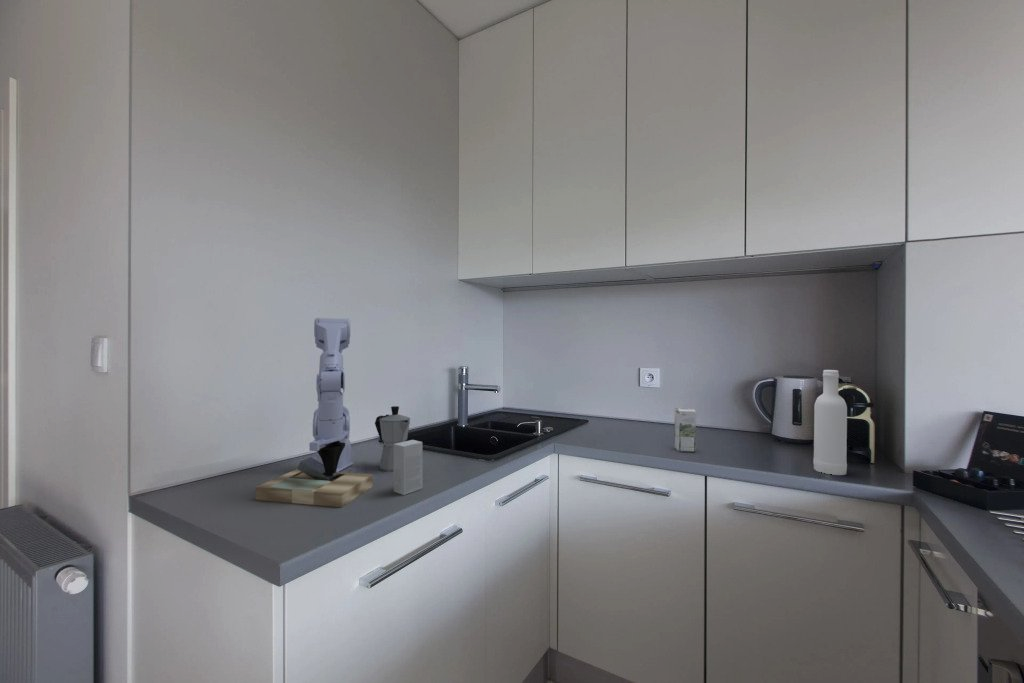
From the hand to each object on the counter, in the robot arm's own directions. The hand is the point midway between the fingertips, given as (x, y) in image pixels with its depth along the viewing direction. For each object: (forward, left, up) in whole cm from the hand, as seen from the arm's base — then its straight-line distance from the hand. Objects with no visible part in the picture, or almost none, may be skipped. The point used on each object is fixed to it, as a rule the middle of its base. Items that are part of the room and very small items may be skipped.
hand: (330, 473), depth 106 cm
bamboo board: (+3, -2, -4) cm, 5 cm away
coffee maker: (-21, +6, -4) cm, 22 cm away
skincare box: (-3, +19, -4) cm, 20 cm away
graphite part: (0, -4, -1) cm, 4 cm away
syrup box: (-60, +97, -4) cm, 114 cm away
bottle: (-43, +134, -4) cm, 141 cm away
